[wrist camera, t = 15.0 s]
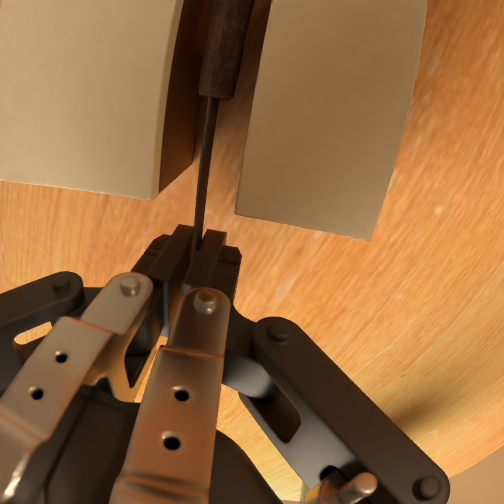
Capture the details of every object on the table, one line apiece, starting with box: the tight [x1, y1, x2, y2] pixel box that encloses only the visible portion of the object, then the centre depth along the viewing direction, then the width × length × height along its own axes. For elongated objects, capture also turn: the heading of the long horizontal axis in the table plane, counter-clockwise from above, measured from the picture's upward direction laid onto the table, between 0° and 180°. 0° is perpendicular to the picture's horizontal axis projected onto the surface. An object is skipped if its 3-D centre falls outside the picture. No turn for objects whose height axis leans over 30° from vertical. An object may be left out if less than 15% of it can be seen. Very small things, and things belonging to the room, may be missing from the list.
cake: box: [0, 0, 214, 200], centre depth 8 cm, size 8×8×4 cm
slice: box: [234, 0, 427, 241], centre depth 8 cm, size 4×8×4 cm, turn 171°
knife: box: [193, 0, 254, 258], centre depth 8 cm, size 16×1×2 cm, turn 171°
